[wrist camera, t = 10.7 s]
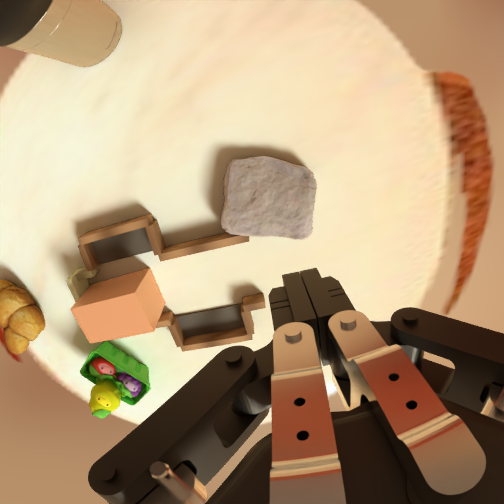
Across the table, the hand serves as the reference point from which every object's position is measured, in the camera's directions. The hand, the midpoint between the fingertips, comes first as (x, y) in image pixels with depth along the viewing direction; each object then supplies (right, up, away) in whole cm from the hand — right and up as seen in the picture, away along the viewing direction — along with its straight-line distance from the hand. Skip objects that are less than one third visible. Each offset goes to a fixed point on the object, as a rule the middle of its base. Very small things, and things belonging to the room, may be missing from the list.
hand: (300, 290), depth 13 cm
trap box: (-14, -3, +31) cm, 34 cm away
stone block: (0, +9, +27) cm, 29 cm away
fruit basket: (-25, -18, +37) cm, 49 cm away
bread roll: (-44, -8, +33) cm, 55 cm away
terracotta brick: (-21, -5, +32) cm, 38 cm away
